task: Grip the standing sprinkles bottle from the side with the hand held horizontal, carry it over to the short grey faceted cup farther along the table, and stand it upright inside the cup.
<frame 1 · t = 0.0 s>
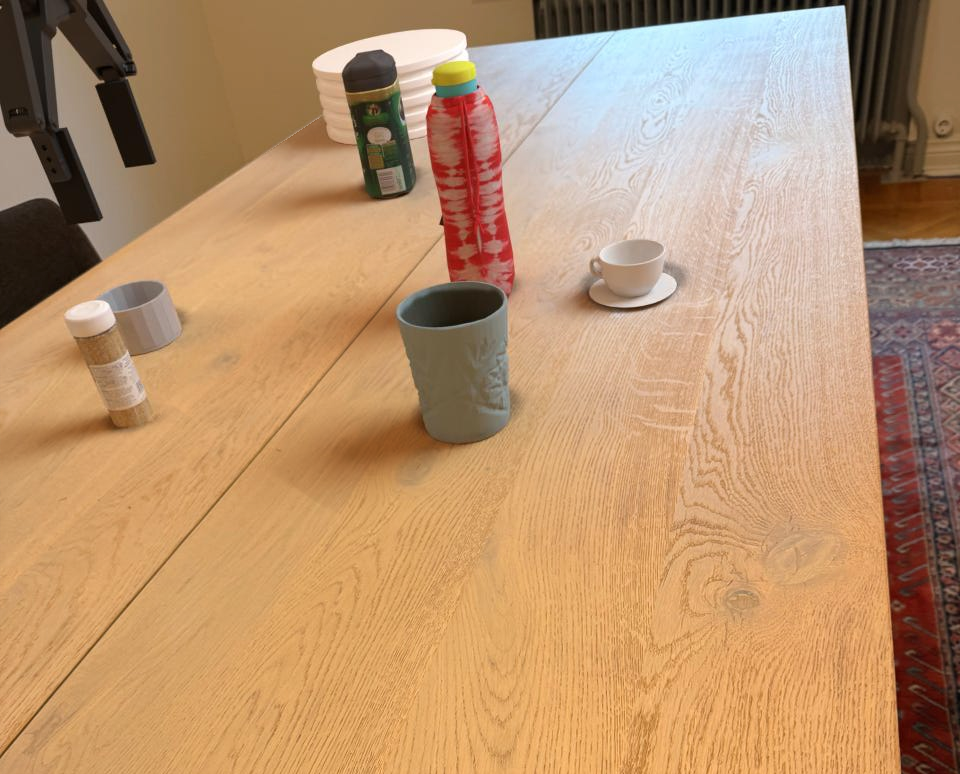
hand: (115, 191, 78), 25 cm above the table, tool pointing down, fingers open, 13 cm apart
coffee jar: (392, 190, 147), on the table
grey faceted cup: (146, 337, 119), on the table
teacup: (632, 293, 109), on the table
water bottle: (484, 296, 114), on the table
sprinkles bottle: (139, 429, 101), on the table
grey embossed cup: (470, 421, 93), on the table
plate stack: (401, 121, 176), on the table
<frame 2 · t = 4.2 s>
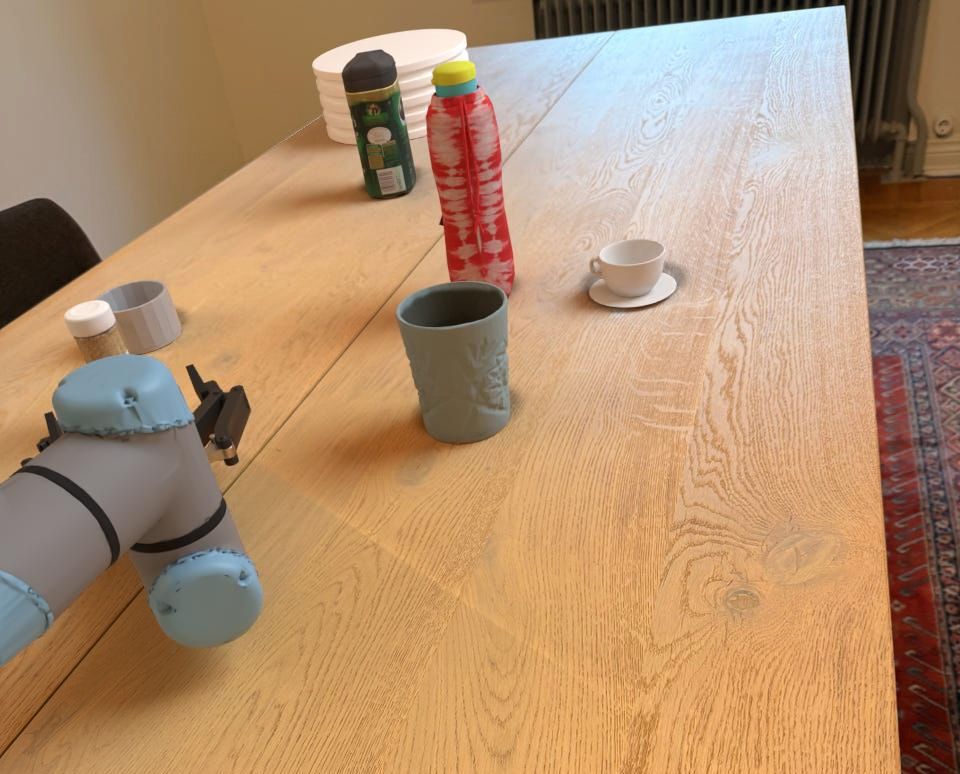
hand: (125, 400, 89), 8 cm above the table, tool horizontal, fingers open, 13 cm apart
nothing on the table moved.
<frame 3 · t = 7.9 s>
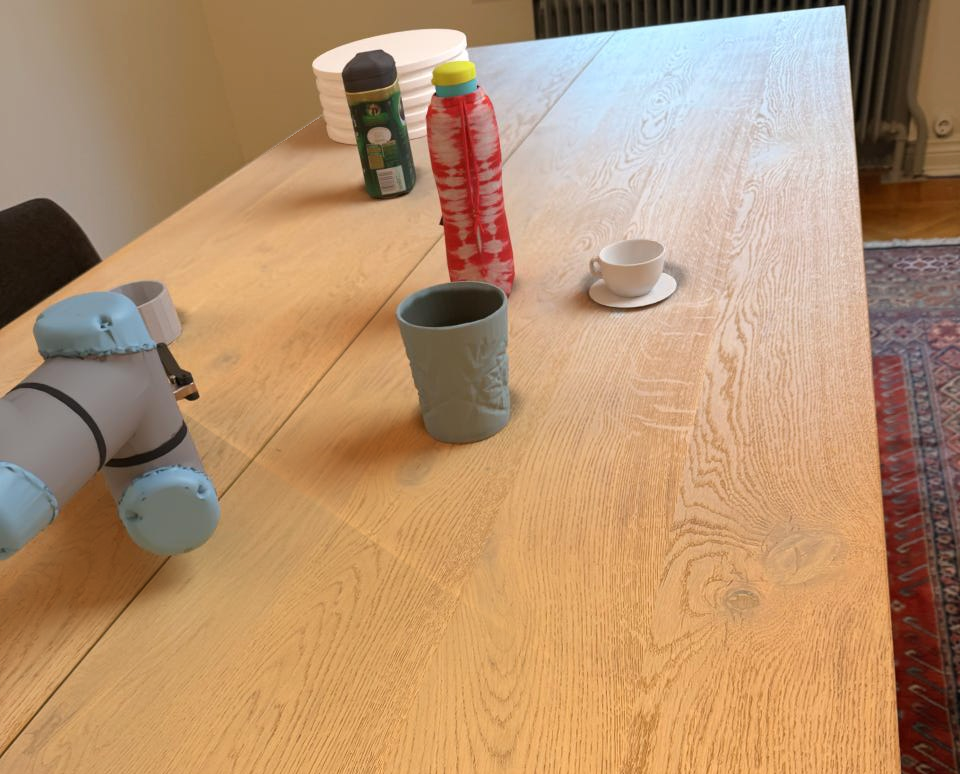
hand: (102, 345, 100), 8 cm above the table, tool horizontal, fingers closed on sprinkles bottle, 4 cm apart
sprinkles bottle: (138, 429, 101), on the table, touching gripper
everything else where it was.
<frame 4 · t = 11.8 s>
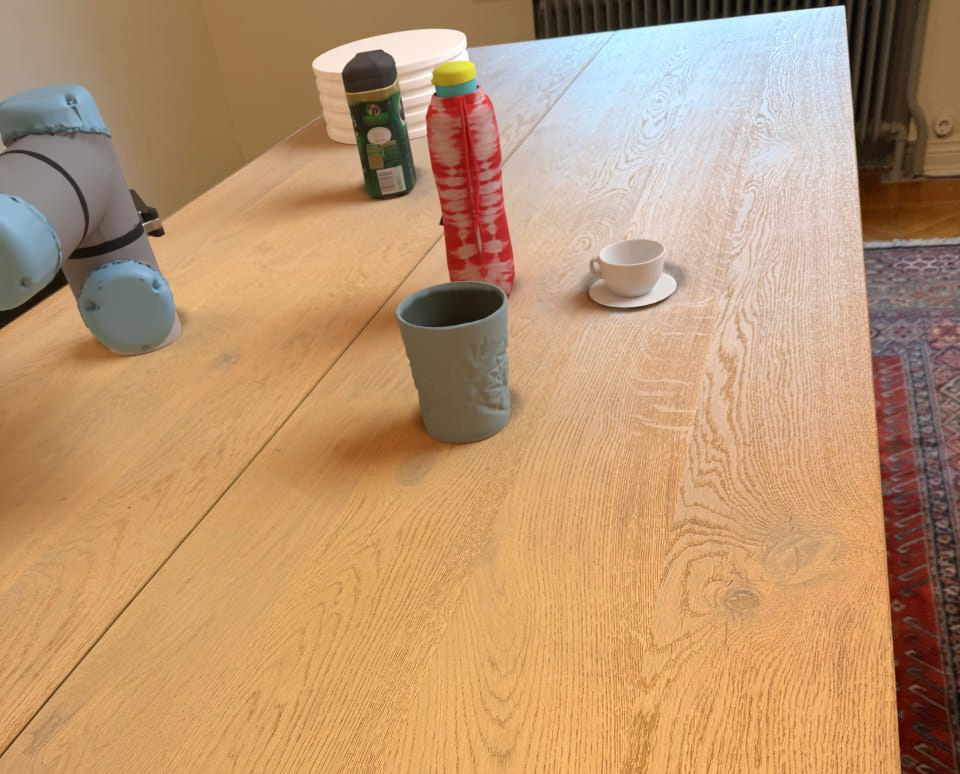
hand: (75, 198, 104), 18 cm above the table, tool horizontal, fingers closed on sprinkles bottle, 4 cm apart
sprinkles bottle: (111, 281, 106), point 10 cm above the table, touching gripper
everything else where it was.
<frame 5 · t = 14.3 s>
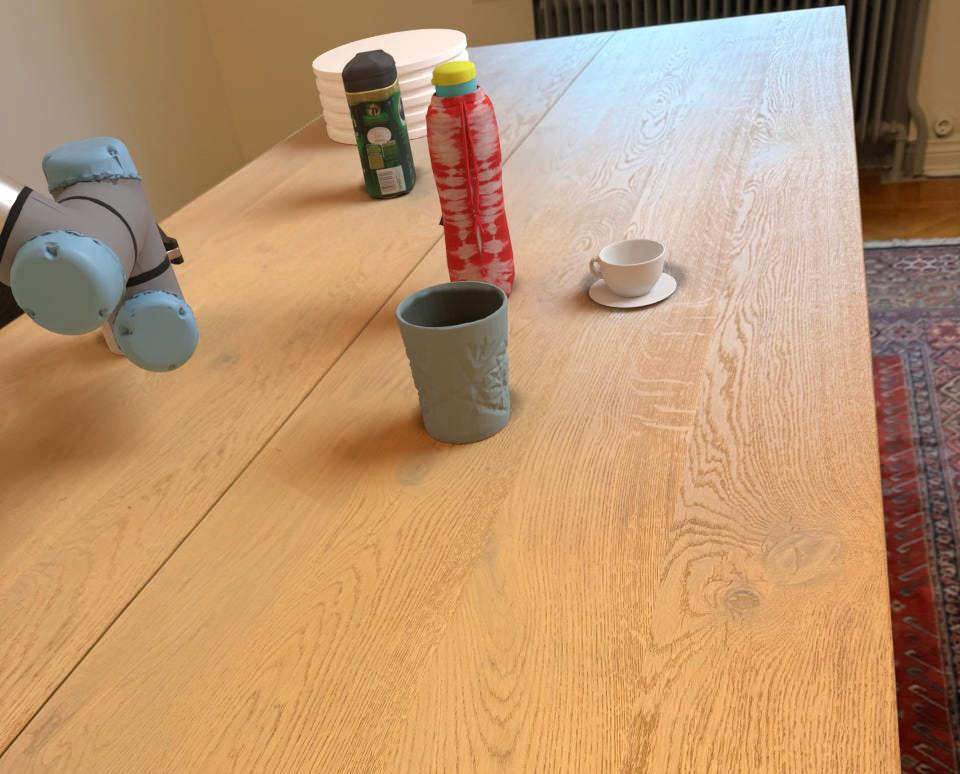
hand: (100, 228, 114), 12 cm above the table, tool horizontal, fingers closed on sprinkles bottle, 4 cm apart
sprinkles bottle: (132, 303, 116), point 5 cm above the table, touching gripper
everything else where it was.
when the fingers open (8 cm above the table, at t = 15.9 s): sprinkles bottle stays where it is, resting on grey faceted cup.
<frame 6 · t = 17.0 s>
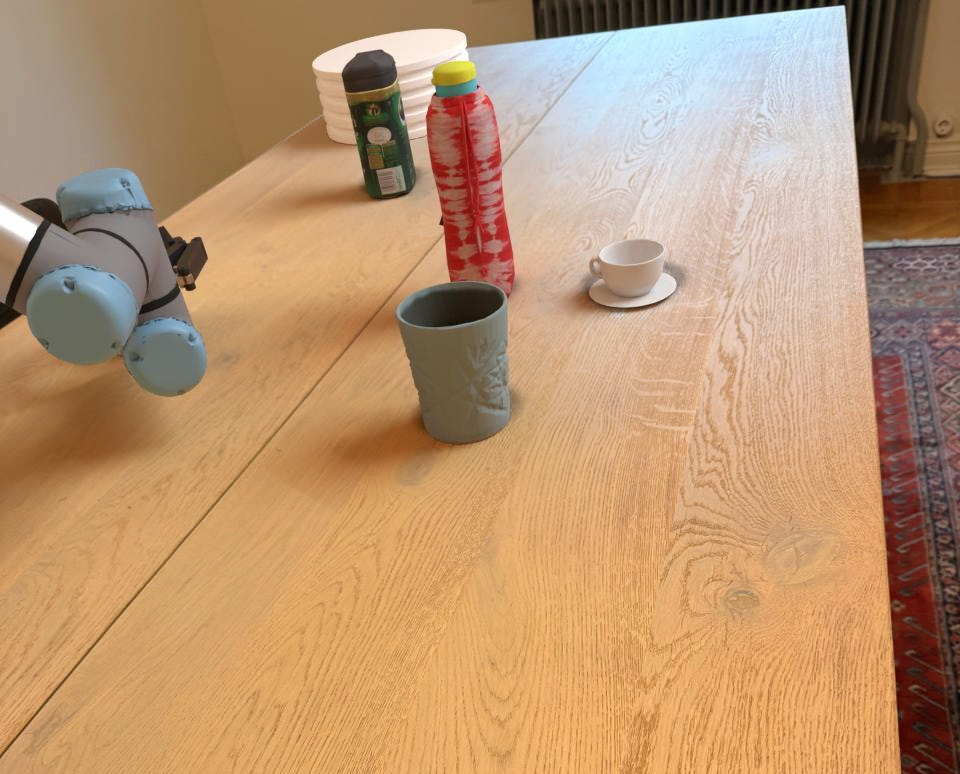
hand: (110, 253, 114), 10 cm above the table, tool horizontal, fingers open, 13 cm apart
sprinkles bottle: (145, 335, 118), resting on grey faceted cup
everything else where it was.
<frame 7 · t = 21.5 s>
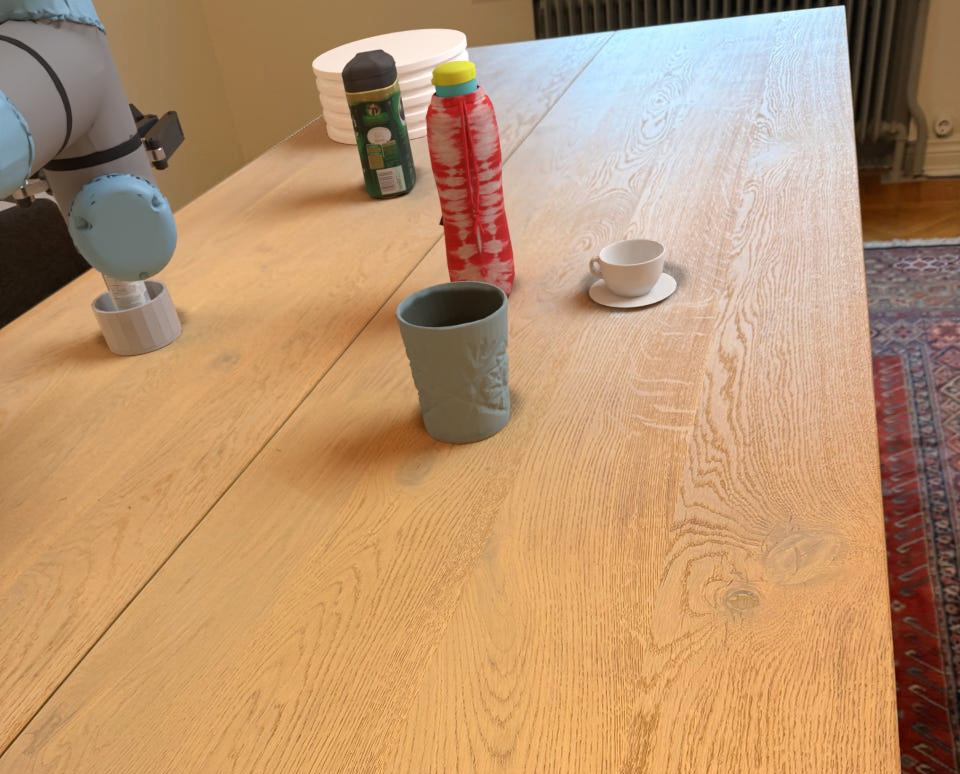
hand: (67, 135, 95), 25 cm above the table, tool horizontal, fingers open, 13 cm apart
nothing on the table moved.
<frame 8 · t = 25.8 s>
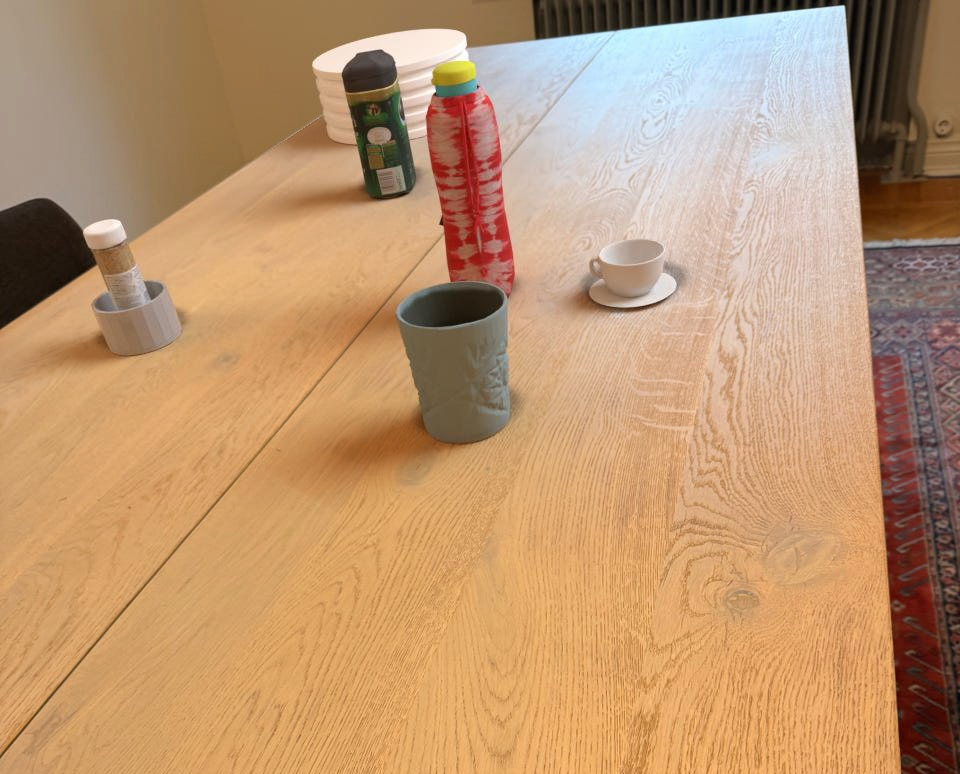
nothing on the table moved.
at the end: sprinkles bottle 0.1 cm off-centre in the grey faceted cup, point 0.3 cm above the grey faceted cup's base; sprinkles bottle tilted 0°; the gripper is holding nothing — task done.
